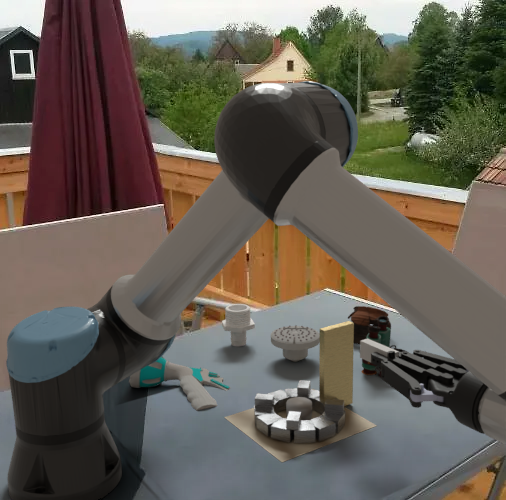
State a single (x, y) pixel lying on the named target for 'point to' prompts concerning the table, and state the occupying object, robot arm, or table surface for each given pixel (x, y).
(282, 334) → the showerhead
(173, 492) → the table surface
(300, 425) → the block ring with board
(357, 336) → the brown leather pouch
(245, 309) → the pipe fitting
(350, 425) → the base
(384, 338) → the binoculars
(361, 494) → the table surface
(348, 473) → the table surface
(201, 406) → the garden hose nozzle
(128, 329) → the robot arm
